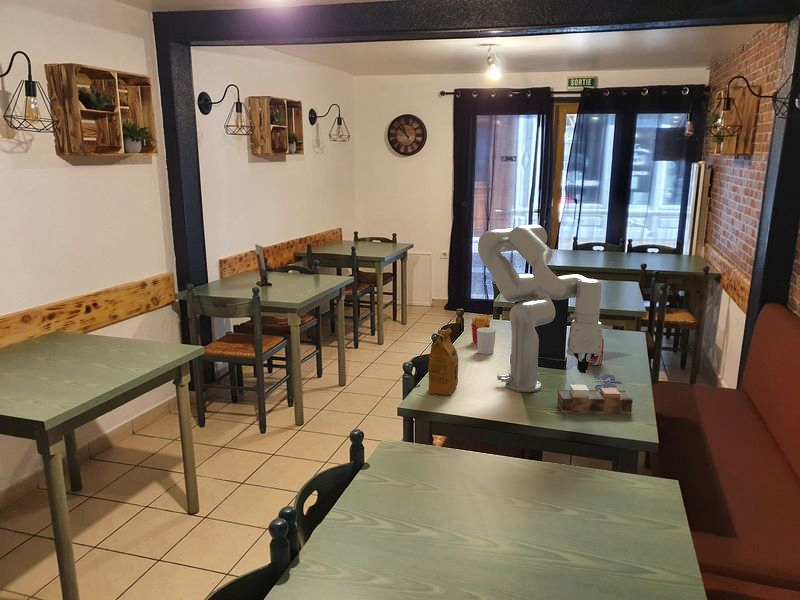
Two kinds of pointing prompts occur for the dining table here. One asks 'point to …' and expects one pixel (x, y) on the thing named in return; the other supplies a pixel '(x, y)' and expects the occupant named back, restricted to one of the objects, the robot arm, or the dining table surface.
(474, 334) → the french fries
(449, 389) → the coffee package
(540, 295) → the robot arm
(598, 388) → the signage
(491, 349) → the white cup
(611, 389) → the red key
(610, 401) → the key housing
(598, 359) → the soda can
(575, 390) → the cream key
